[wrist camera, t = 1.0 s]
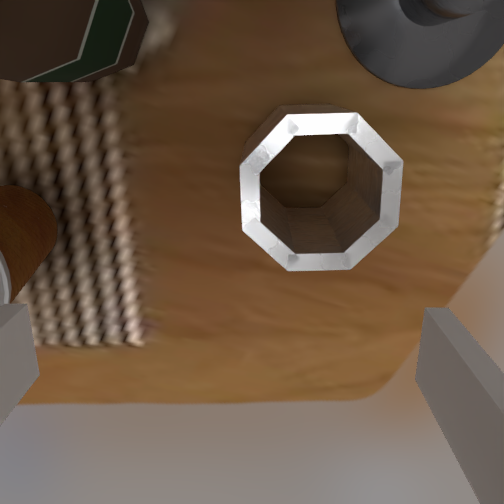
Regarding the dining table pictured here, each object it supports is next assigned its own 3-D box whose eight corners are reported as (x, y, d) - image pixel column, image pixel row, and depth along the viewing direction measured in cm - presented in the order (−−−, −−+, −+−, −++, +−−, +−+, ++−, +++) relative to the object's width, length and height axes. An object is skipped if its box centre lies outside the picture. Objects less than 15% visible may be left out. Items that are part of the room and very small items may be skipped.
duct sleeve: (243, 106, 33) (237, 116, 23) (364, 102, 32) (407, 110, 23) (247, 221, 36) (243, 272, 26) (359, 218, 35) (395, 268, 26)
